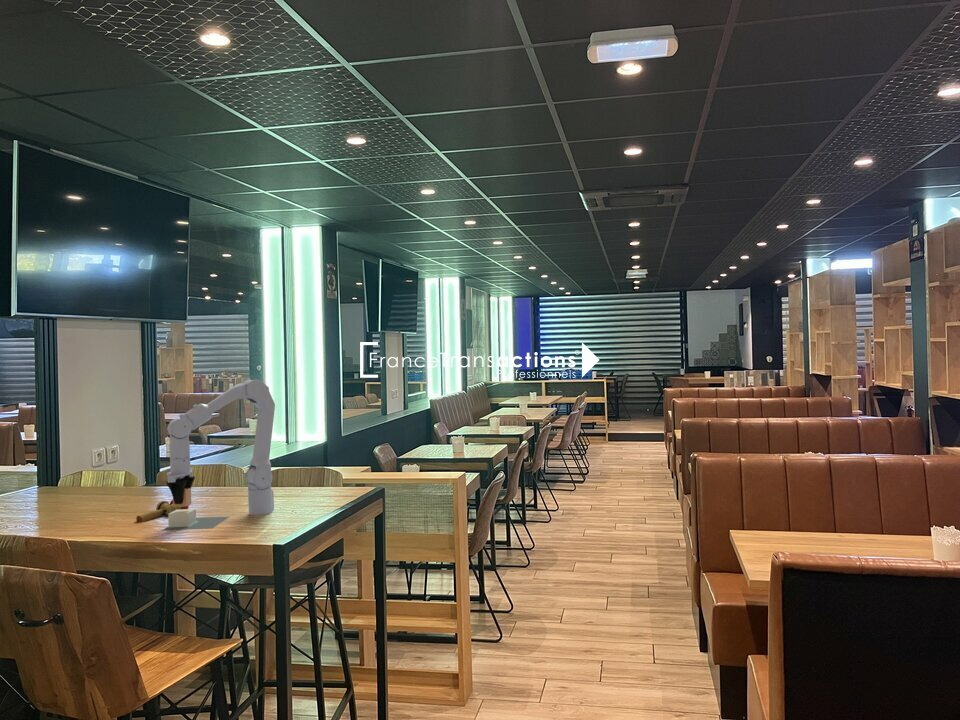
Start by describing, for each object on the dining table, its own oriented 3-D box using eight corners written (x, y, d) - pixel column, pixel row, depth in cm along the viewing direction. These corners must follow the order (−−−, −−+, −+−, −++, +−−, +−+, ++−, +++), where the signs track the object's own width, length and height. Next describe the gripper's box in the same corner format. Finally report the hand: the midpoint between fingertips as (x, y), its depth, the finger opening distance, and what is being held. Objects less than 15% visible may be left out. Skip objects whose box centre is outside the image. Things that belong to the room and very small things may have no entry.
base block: (176, 522, 225) (176, 509, 225) (196, 521, 225) (195, 508, 225) (168, 527, 219) (168, 513, 219) (188, 526, 219) (188, 513, 219)
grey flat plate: (182, 520, 231) (182, 518, 231) (230, 519, 231) (230, 516, 231) (161, 533, 215) (161, 530, 215) (212, 531, 215) (212, 528, 215)
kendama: (150, 529, 226) (196, 510, 242) (144, 510, 226) (191, 492, 242) (135, 532, 230) (181, 512, 246) (129, 513, 230) (176, 494, 245)
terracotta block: (178, 504, 224) (177, 488, 224) (191, 503, 224) (190, 487, 224) (173, 507, 220) (172, 490, 220) (186, 506, 220) (185, 490, 220)
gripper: (176, 455, 229) (178, 498, 229) (156, 461, 215) (158, 507, 215) (199, 454, 229) (200, 497, 229) (180, 460, 215) (182, 506, 215)
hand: (181, 502), depth 222 cm, fingers closed on terracotta block, 4 cm apart
